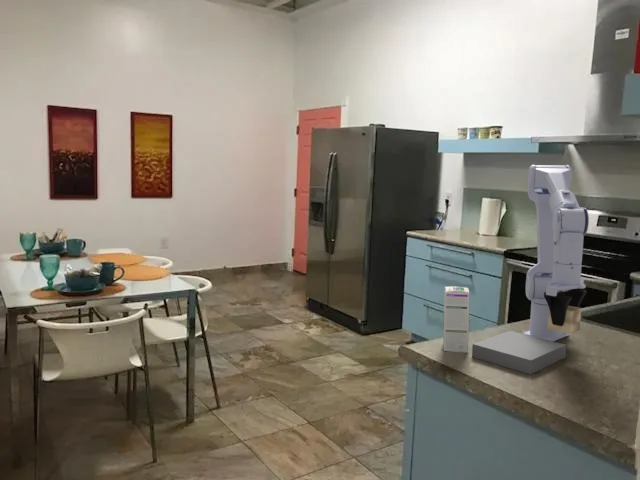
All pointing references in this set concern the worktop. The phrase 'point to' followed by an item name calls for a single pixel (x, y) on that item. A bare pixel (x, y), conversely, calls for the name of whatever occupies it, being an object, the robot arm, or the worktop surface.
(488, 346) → the plate
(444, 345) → the syrup box
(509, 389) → the worktop surface
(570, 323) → the birch block
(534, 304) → the robot arm
